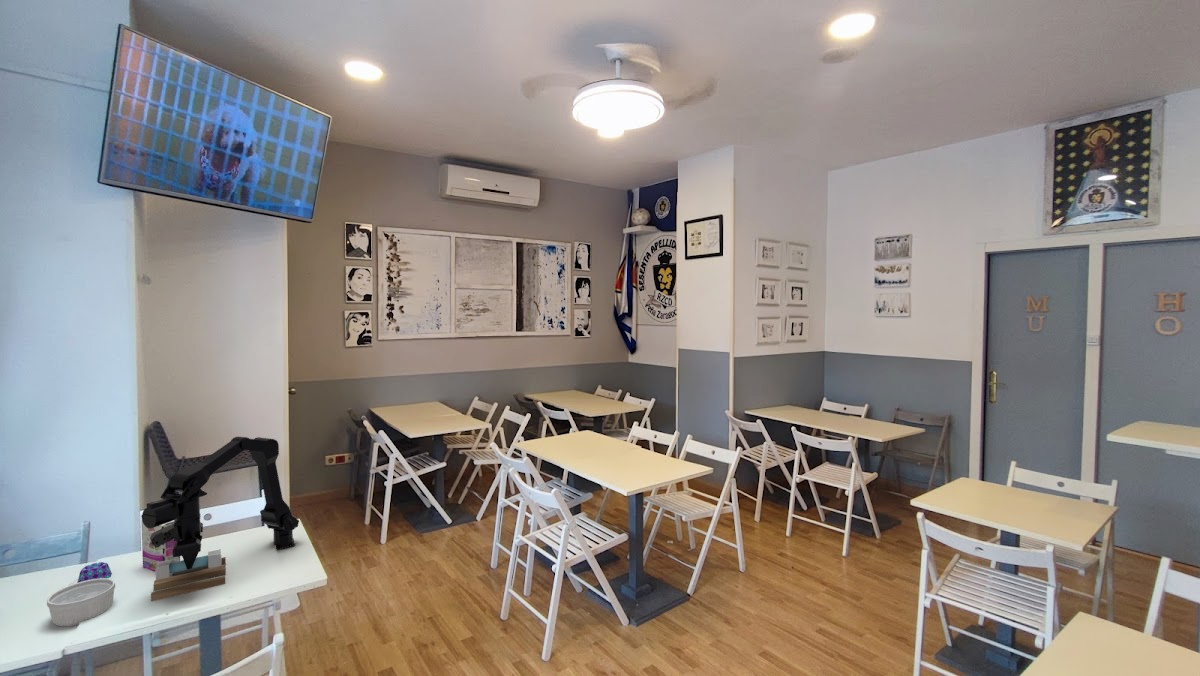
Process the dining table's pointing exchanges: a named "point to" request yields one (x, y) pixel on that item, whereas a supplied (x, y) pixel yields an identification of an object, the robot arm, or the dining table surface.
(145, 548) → the candy bar box
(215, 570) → the walnut rack
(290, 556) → the dining table surface
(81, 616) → the ramekin
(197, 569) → the grey white-ended bar
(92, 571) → the purple spotted rounded lump
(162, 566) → the grey and teal bar
